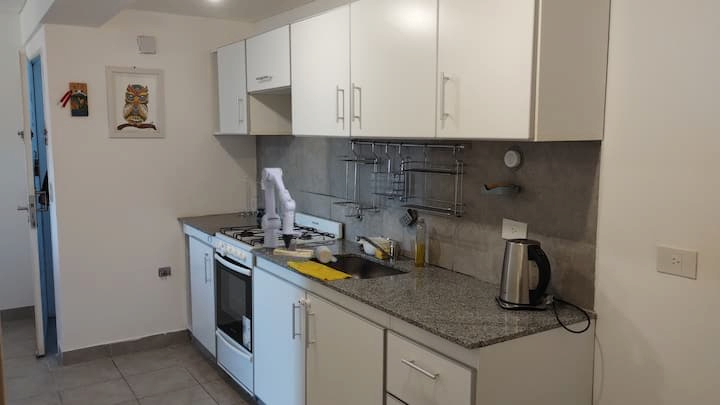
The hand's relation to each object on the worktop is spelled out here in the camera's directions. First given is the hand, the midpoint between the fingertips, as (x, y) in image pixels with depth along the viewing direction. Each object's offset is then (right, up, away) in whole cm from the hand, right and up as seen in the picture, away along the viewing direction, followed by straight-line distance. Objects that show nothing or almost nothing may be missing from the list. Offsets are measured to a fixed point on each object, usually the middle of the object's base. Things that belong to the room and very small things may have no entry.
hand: (287, 248), depth 311 cm
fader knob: (+3, -1, 0) cm, 3 cm away
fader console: (+3, -3, 0) cm, 5 cm away
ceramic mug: (+21, -6, -11) cm, 25 cm away
